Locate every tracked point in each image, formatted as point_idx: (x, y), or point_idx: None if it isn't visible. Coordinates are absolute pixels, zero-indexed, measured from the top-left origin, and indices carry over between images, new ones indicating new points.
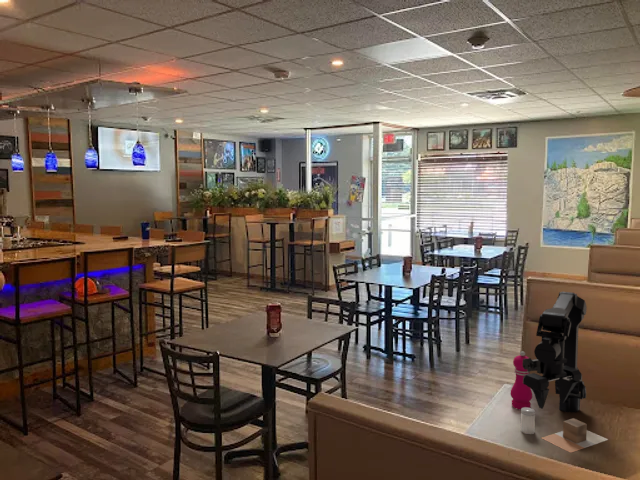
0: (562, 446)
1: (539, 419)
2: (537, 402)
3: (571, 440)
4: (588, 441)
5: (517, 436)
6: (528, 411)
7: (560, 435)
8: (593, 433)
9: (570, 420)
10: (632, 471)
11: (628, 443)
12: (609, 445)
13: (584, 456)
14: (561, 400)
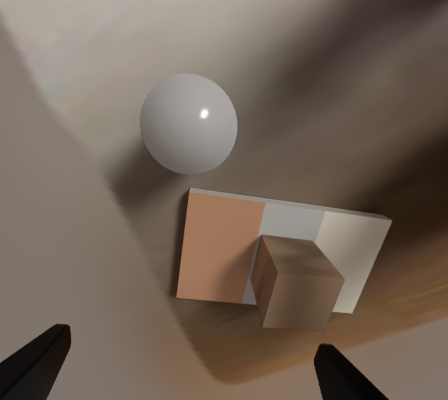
0: (192, 266)
1: (383, 68)
2: (2, 363)
3: (254, 265)
4: None
5: None
6: (169, 144)
7: (267, 223)
8: (365, 274)
9: (310, 284)
10: (237, 382)
11: (383, 327)
12: None
13: (215, 304)
14: (323, 365)
